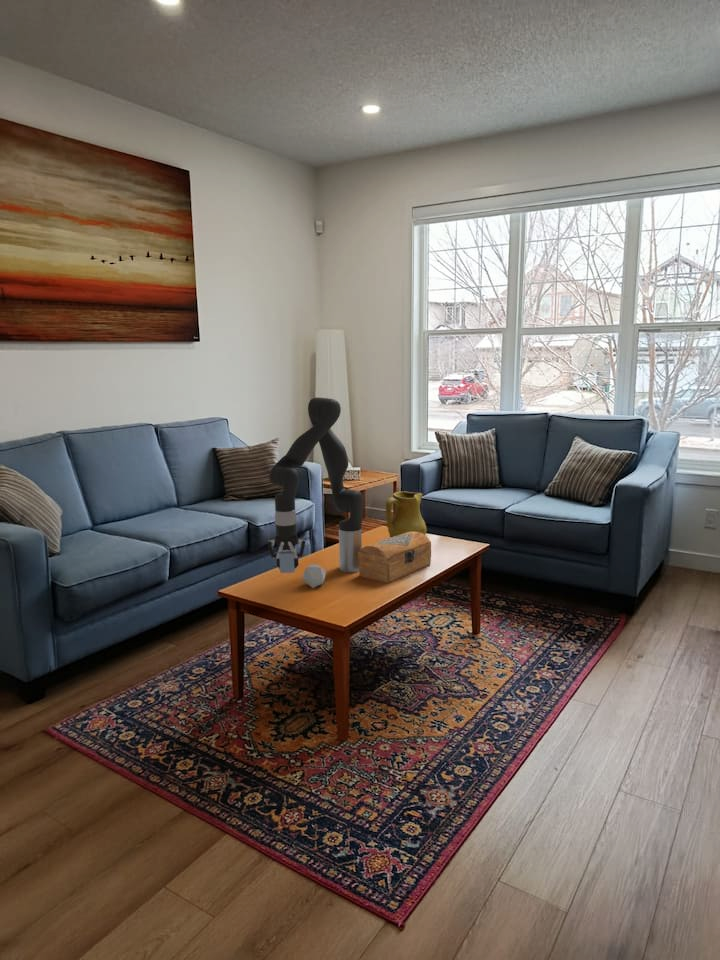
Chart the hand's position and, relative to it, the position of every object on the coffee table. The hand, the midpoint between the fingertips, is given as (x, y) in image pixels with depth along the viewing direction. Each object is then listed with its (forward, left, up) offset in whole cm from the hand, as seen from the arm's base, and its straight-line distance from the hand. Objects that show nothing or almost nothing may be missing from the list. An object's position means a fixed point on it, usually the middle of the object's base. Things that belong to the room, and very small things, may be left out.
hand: (287, 567), depth 242 cm
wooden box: (-31, +41, -12) cm, 53 cm away
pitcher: (-67, +47, -12) cm, 82 cm away
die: (-9, +8, -7) cm, 13 cm away
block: (0, 0, -1) cm, 1 cm away
